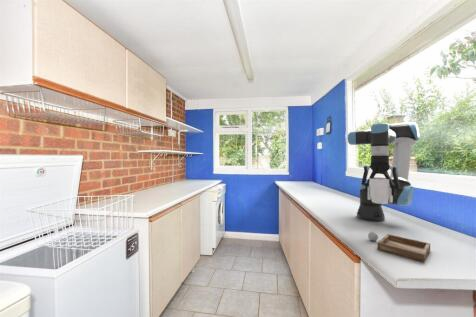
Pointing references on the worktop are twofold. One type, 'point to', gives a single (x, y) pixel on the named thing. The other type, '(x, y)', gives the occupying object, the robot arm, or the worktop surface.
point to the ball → (373, 236)
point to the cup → (379, 190)
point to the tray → (404, 247)
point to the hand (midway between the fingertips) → (379, 200)
